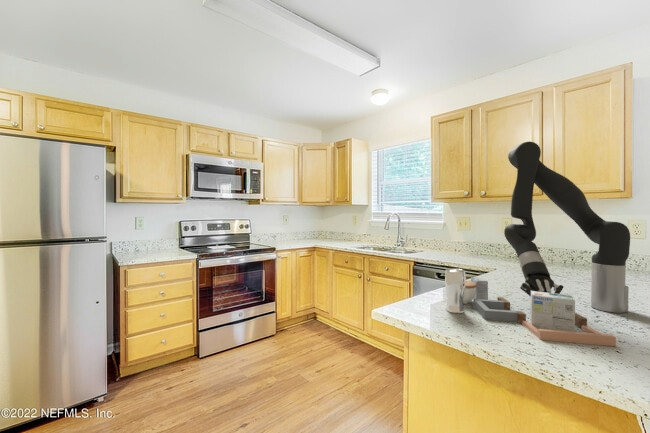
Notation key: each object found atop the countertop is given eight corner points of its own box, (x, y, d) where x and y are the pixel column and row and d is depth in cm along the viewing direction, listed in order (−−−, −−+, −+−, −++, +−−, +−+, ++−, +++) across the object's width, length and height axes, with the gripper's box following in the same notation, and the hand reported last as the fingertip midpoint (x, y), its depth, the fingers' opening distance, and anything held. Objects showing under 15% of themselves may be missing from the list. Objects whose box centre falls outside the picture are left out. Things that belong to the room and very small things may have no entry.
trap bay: (502, 308, 110) (502, 300, 110) (517, 321, 96) (517, 312, 96) (473, 306, 112) (473, 298, 112) (484, 319, 98) (484, 310, 98)
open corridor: (552, 308, 110) (552, 300, 110) (587, 328, 91) (587, 318, 91) (497, 304, 115) (497, 296, 115) (519, 322, 95) (519, 313, 95)
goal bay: (587, 329, 90) (587, 321, 90) (615, 346, 79) (615, 337, 79) (522, 324, 94) (522, 316, 94) (540, 339, 83) (540, 330, 83)
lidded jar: (448, 296, 126) (449, 274, 126) (476, 300, 121) (477, 277, 120) (445, 302, 117) (445, 279, 117) (475, 307, 111) (475, 282, 111)
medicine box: (488, 302, 117) (488, 281, 117) (476, 301, 118) (476, 280, 118) (481, 297, 125) (481, 277, 125) (470, 296, 126) (470, 276, 126)
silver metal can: (469, 314, 104) (469, 272, 103) (449, 313, 104) (449, 272, 103) (460, 307, 110) (460, 268, 110) (441, 307, 111) (442, 268, 110)
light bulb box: (571, 328, 91) (571, 294, 91) (575, 336, 85) (576, 299, 85) (529, 322, 96) (529, 289, 96) (531, 328, 90) (531, 294, 90)
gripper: (516, 259, 105) (531, 303, 93) (558, 261, 102) (579, 307, 90) (510, 271, 110) (524, 314, 98) (549, 273, 107) (569, 318, 95)
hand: (550, 311), depth 94 cm, fingers closed
